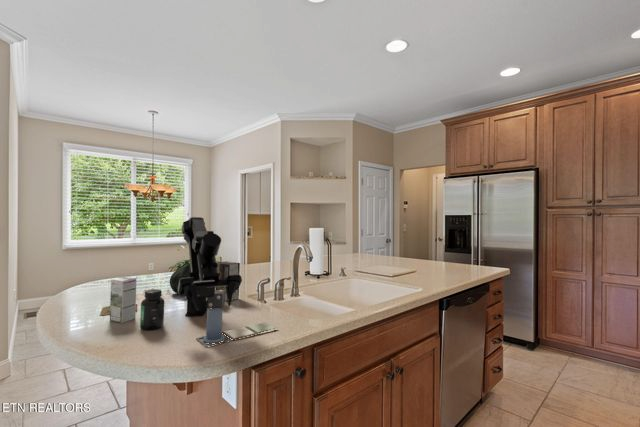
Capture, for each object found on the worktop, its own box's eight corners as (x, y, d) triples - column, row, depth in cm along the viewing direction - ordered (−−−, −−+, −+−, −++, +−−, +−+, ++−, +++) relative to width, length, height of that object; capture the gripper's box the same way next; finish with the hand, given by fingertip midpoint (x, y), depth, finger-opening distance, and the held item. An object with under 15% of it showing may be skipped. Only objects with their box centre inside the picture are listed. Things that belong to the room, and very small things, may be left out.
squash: (184, 277, 162) (174, 257, 153) (212, 280, 160) (204, 260, 151) (170, 301, 152) (159, 281, 142) (200, 304, 150) (190, 284, 140)
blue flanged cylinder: (200, 344, 93) (201, 313, 93) (206, 336, 99) (207, 307, 99) (222, 344, 93) (223, 313, 93) (226, 336, 99) (227, 307, 99)
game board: (205, 347, 90) (206, 345, 90) (195, 339, 96) (196, 336, 96) (278, 330, 106) (278, 327, 106) (265, 323, 112) (265, 321, 112)
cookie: (101, 308, 125) (101, 306, 125) (137, 305, 131) (137, 302, 131) (98, 317, 115) (98, 314, 115) (137, 313, 121) (137, 310, 121)
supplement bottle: (138, 332, 101) (140, 293, 101) (141, 325, 107) (142, 289, 107) (163, 329, 103) (164, 292, 103) (164, 323, 110) (165, 288, 110)
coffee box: (239, 298, 145) (240, 262, 145) (228, 301, 139) (229, 264, 140) (225, 295, 150) (226, 260, 150) (214, 298, 144) (215, 262, 144)
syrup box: (136, 318, 114) (137, 277, 114) (120, 323, 108) (122, 280, 108) (124, 316, 115) (125, 276, 116) (108, 321, 110) (110, 278, 110)
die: (206, 308, 128) (207, 293, 128) (210, 304, 134) (210, 289, 134) (221, 308, 129) (222, 293, 129) (224, 304, 135) (225, 289, 135)
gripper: (230, 278, 116) (238, 317, 106) (174, 282, 106) (177, 325, 97) (237, 259, 109) (247, 298, 100) (178, 261, 100) (182, 305, 90)
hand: (214, 307), depth 97 cm, fingers open, 9 cm apart
